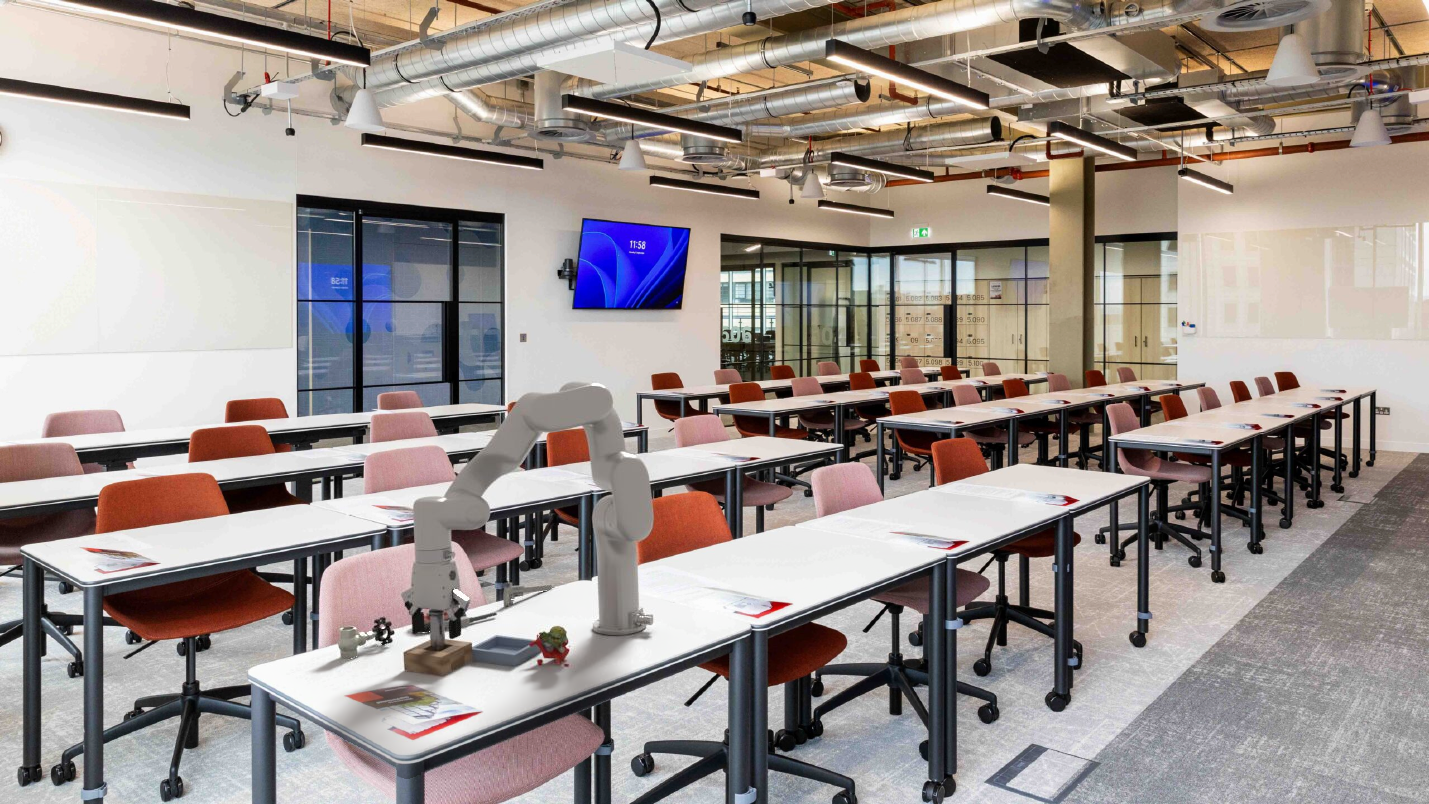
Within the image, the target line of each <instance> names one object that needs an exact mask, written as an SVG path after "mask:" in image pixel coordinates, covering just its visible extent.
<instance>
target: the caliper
mask: <svg viewBox="0 0 1429 804" xmlns="http://www.w3.org/2000/svg"><path fill="white" fill-rule="evenodd" d="M552 589H555V586H554V585H552V584H539V585H531V586H530V585H529V586H525V585H513V582H506V583H505V587H504V588H503V594H502V597H503V598H502V599H503V606H504V607H507V608H508V606H513V605H512V604H514V601H515V597H523V596H524V594H526V593H534V592H535V593H536V592H544V591H545V592H546V591H550V590H552ZM511 599H514V600H511Z"/></svg>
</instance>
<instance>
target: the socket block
mask: <svg viewBox="0 0 1429 804" xmlns="http://www.w3.org/2000/svg"><path fill="white" fill-rule="evenodd" d="M472 647H473V642H471V641H469V642H468V641H464V640H457V639H456V640H455V639H448V638H445V649H444V650H442V651H440V652H438V651H431V642H430V639H429V640H427V641H425V642H422V643H420V644H418V645H416V646H414V647H412V648H409V649H407V650H405V651H403V670H405V672H411V671H415V672H414V673H419V674H425V675H426V674H427V675H433V676H438V675H439V677H444V676H445V675H448V674H450V673H452V672H454V671H455V670H456V671H457V669H459V668H461V667H463V666H465V665H467V664H469V663H471V662H474V661H473V655H472ZM406 670H407V671H406ZM453 670H454V671H453ZM451 671H452V672H451Z"/></svg>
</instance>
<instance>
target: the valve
mask: <svg viewBox="0 0 1429 804" xmlns="http://www.w3.org/2000/svg"><path fill="white" fill-rule="evenodd" d="M386 620H387V618H386V616H381V617H379V618H376V619H374V620H373V624H375V625H373V627H372V629H371V630H370V631H367V632H363V631H358V632H357V628H356V626H353V625H348V626H343V627H340V628H339V629H338V632H339V633H338V634H339V635H338V636H339V638H338V641H337V645H338V648H339V649H338V650H339V653H340V659H341V658H342V659H350V660H352V659H351V658H353V659H355V658H354V657H356V656H358V649H357V648H358V647H361V646H364V645H365V644H366V643H367V641H368V642H369V641H370V640H373V639H374V640H375V642H380V645H381V644H382V645H384V646H386V645H387V644H388V645H389V644H392V643H393V638H392V636H393V635H395V630H394V629H391V627H392V624H393V623H392V621H390V620H388V621H386ZM381 625H384V626H383V627H381ZM386 634H387V635H386ZM384 635H386V637H384ZM385 644H386V645H385ZM382 645H381V646H382ZM356 658H357V657H356ZM342 659H341V660H342Z"/></svg>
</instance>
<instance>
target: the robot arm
mask: <svg viewBox="0 0 1429 804" xmlns="http://www.w3.org/2000/svg"><path fill="white" fill-rule="evenodd" d="M613 405H614V399H613V395H612V393H611V391H610V390H609V388H608V387H606V386H605V385H603V384H600V383H596V382H589V381H588V382H587V381H576V380H575V381H571V382H570V381H569V382H567V383H565V384H564V385H562V386H561V387H560V389H559V390H558V391H555V392H549V393H548V392H537V391H536V392H535V391H533V392H527V393H525V394H522V396H520V397H519V399H518V400H517V401H516V402H515V403H514V405H513V407H512V408H511V410H510V411H509V413H508V414H507V415H506V417H505V418H504V420H503V421H502V423H501V425H500V426H499V427H498V428H497V430H496V432H495V433H494V434H493V436H492V438H491V439H490V441H489V442H488V443H487V444H486V445H485V446H484V448H482V449H481V450H480V451H479V452H478V453H477V454H476V455H475V456H474V457H473V458H472V459H471V460H470V461H468V463H467V464H465V466H464V467H463V468H462V469H461V470H460V472H459V473H458V474H457V475H456V477H455V478H454V480H453V481H452V483H451V484H450V486H449V487H448V489H447V491H446V492H445V494H444V496H439V495H437V496H435V495H434V496H424V497H420V498H418V499H416V500H415V501H414V502H413V505H412V514H413V515H412V516H413V535H414V536H413V537H414V538H413V539H414V560H415V561H414V562H413V564H412V569H411V579H410V582H411V584H410V588H408V589H407V590H405V591H403V592H402V593H401V594H400V596H401V597H402V601H403V602H404V607H405V608H406V609H407V610H408V615H409V616H411V627H412V628H411V630H412V632H411V633H412V634H413V635H417V634H419V633H421V632H422V631H424V629H425V627H424V616H425V612H423V609H425V610H440V611H446V612H447V614H448V615H449V617H450V618H451V620H449V629H448V637H449V640H455V639H456V638H458V637H460V636H461V635H462V627H461V617H463V615H464V614H466V613H467V611H468V608H469V605H470V603H471V599H470V598H469V597H467V596H466V595H465V594H463V593H462V589H461V582H460V574H459V570H458V565H457V563H456V561H455V560H453V559H454V558H455V557H456V552H455V551H453V547H452V531H454V530H455V531H456V530H459V531H460V530H461V531H468V530H469V531H472V530H477V529H480V528H481V527H483V526H484V525H486V524H487V523H488V521H489V519H490V516H491V507H490V505H489V503H488V501H486V499H484V498H483V497H482V496H483V495H484V494H485V492H487V490H488V489H489V487H490V486H491V485H492V484H493V483H494V482H496V481H497V480H498V479H499V478H501V477H503V476H505V475H506V474H509V473H511V472H513V471H515V470H516V469H518V468H519V467H520V466H521V465H522V464H523V463H524V461H525V460H526V458H527V456H528V455H529V453H530V452H531V450H532V449H533V448H534V446H535V444H536V443H537V441H538V440H539V438H540V437H541V435H542V434H543V433H556V432H561V431H565V430H566V431H567V430H570V429H573V428H577V427H582V428H583V430H584V433H585V436H586V441H587V444H588V445H587V446H588V452H589V460H590V469H591V471H590V472H591V476H592V480H593V482H594V484H595V486H597V487H598V488H599V489H601V490H603V491H607V492H610V493H611V494H609V495H606V496H603V497H602V498H600V499H599V500H598V501H597V502H596V503H595V505H594V507H593V510H592V514H591V515H592V516H591V521H592V528H593V533H594V537H595V545H596V547H595V548H596V561H597V562H596V565H597V566H596V567H597V569H596V570H597V594H598V619H597V620H595V621H593V623H592V629H593V631H594V632H595V633H598V634H600V635H607V636H623V635H624V636H625V635H631V634H634V633H638V632H641V631H644V629H645V628H646V627H647V625H648V626H652V625H653V624H654V615H653V614H649V613H644V607H643V606H640V599H639V598H640V597H639V595H640V593H639V573H638V572H639V565H638V562H639V559H638V557H639V556H638V549H637V548H638V547H637V542H642V541H643V540H645V539H646V538H648V536H649V535H650V533H651V532H652V529H653V526H654V519H655V518H654V516H655V515H654V506H653V498H652V497H653V496H652V490H651V489H652V488H651V480H650V473H649V471H648V468H647V466H646V465H645V463H644V461H642V459H641V458H639V457H638V456H636V455H635V454H631V453H629V452H627V447H626V442H625V437H624V430H623V426H622V422H621V419H620V417H619V415H618V413H617V411H616V409H615V408H614V407H613ZM452 609H453V610H454V611H455V613H454V612H453V610H452Z"/></svg>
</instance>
